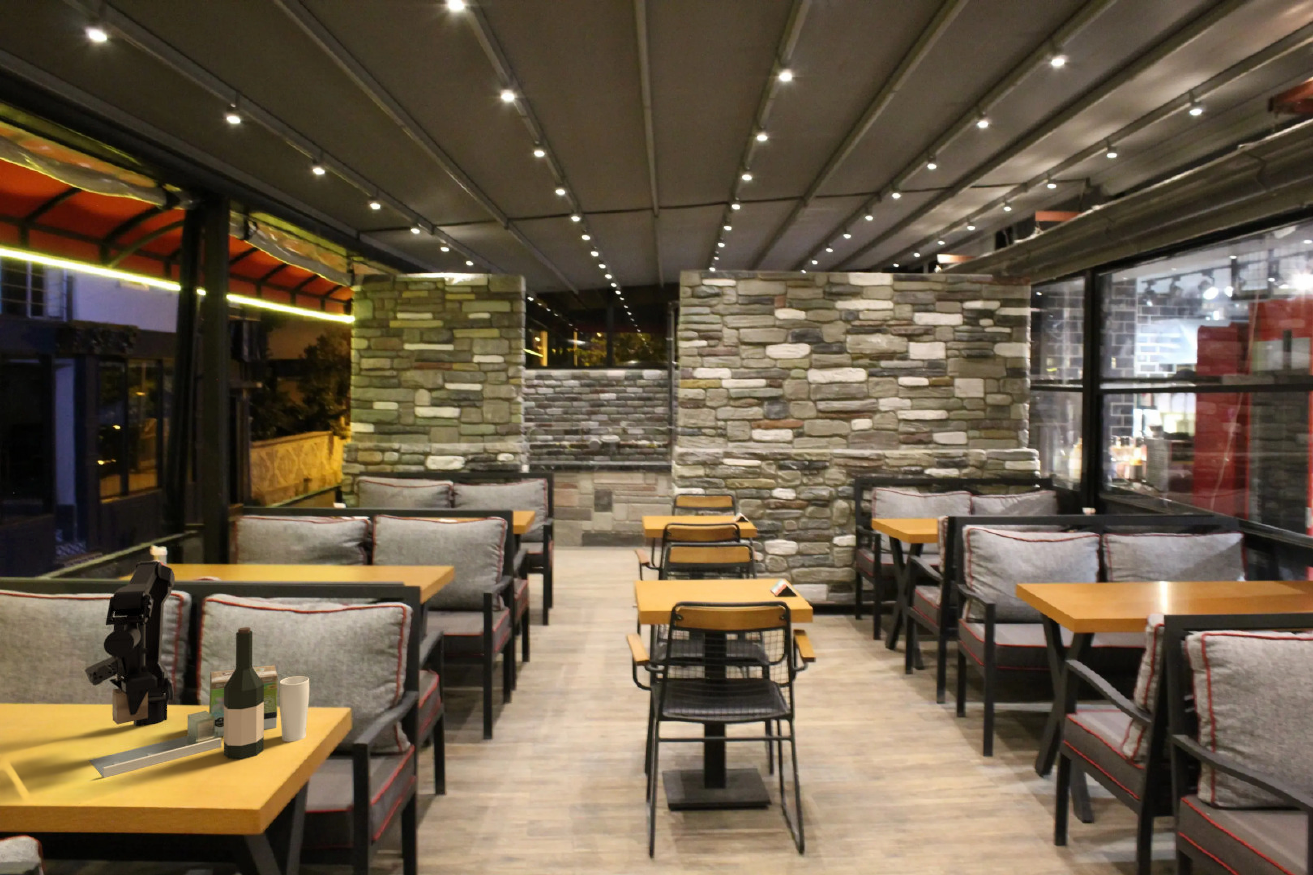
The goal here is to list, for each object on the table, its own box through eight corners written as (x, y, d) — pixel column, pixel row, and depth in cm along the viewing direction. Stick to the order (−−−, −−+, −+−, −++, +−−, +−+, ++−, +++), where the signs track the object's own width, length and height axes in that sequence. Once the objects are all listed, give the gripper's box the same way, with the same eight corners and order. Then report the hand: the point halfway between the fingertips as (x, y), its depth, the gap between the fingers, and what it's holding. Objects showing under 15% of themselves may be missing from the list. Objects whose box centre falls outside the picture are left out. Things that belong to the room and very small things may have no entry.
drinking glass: (315, 737, 200) (315, 677, 200) (294, 748, 194) (295, 686, 193) (293, 734, 202) (293, 674, 202) (272, 744, 196) (272, 682, 196)
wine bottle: (271, 753, 191) (272, 626, 190) (240, 766, 183) (240, 634, 182) (247, 746, 194) (247, 622, 193) (215, 759, 186) (215, 630, 186)
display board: (202, 735, 200) (202, 723, 200) (221, 750, 191) (221, 738, 191) (89, 764, 183) (89, 751, 183) (104, 782, 174) (104, 768, 174)
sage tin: (187, 743, 193) (187, 714, 193) (205, 739, 196) (205, 710, 196) (196, 751, 189) (196, 721, 189) (214, 746, 192) (214, 717, 191)
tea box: (209, 742, 196) (209, 682, 196) (208, 729, 205) (209, 671, 205) (277, 731, 204) (278, 673, 204) (274, 718, 213) (274, 662, 212)
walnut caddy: (142, 713, 190) (142, 683, 190) (147, 717, 187) (147, 687, 187) (111, 720, 186) (112, 689, 186) (116, 724, 183) (116, 693, 183)
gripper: (78, 643, 187) (78, 710, 187) (99, 660, 174) (99, 732, 174) (134, 634, 195) (134, 699, 195) (158, 650, 182) (158, 719, 182)
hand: (130, 712), depth 187 cm, fingers closed on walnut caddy, 4 cm apart
